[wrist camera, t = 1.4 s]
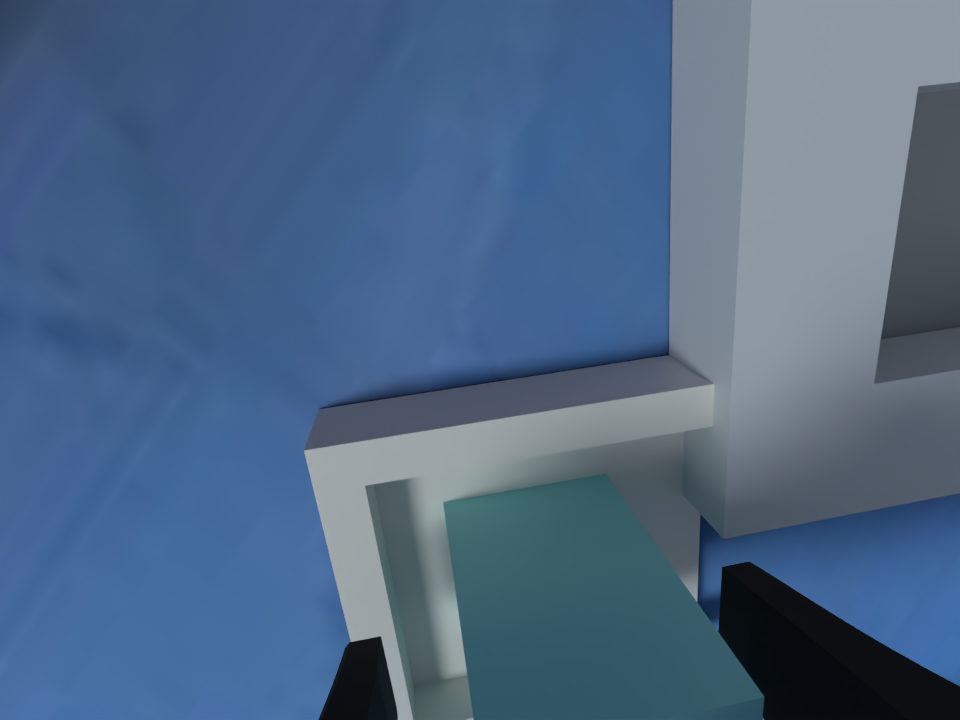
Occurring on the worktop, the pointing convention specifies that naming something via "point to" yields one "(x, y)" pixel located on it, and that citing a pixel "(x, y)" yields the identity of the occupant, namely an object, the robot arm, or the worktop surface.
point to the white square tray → (481, 471)
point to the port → (817, 254)
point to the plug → (582, 614)
